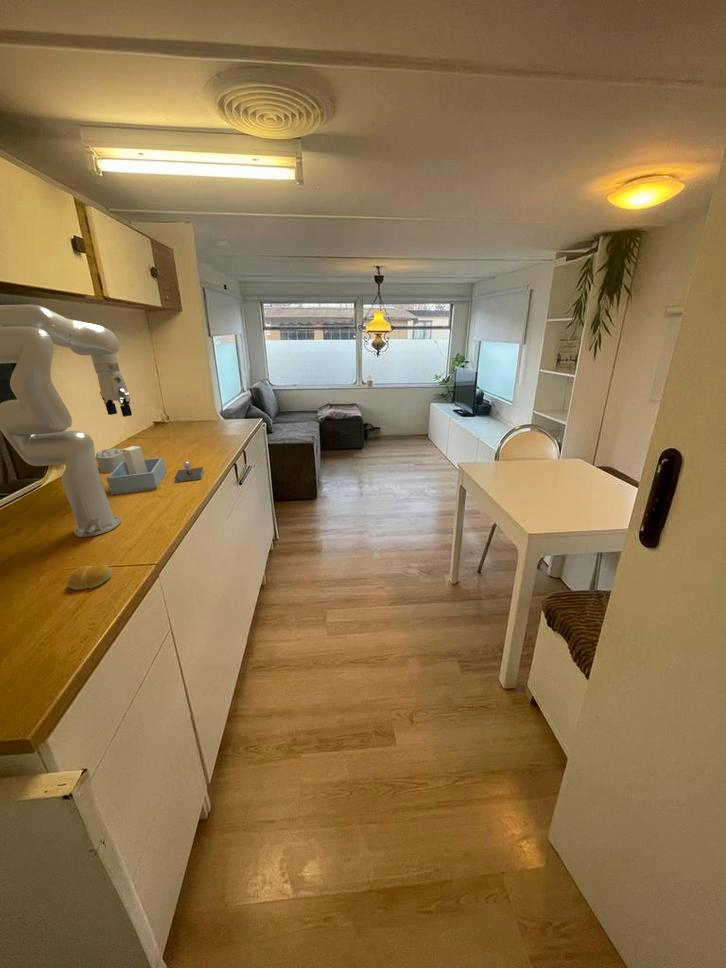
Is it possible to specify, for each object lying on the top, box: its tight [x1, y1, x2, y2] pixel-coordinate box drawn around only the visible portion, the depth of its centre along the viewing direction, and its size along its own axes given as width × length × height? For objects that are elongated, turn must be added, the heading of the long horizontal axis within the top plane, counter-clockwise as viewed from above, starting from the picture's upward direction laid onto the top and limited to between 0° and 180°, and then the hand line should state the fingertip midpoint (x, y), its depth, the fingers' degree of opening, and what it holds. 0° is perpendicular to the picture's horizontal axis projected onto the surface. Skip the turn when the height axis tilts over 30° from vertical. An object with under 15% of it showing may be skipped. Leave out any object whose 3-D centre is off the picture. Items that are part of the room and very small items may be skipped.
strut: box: [121, 445, 148, 475], centre depth 152 cm, size 5×5×14 cm
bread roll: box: [66, 563, 112, 590], centre depth 94 cm, size 8×9×4 cm
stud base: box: [174, 460, 205, 483], centre depth 158 cm, size 10×10×7 cm
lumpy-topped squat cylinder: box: [95, 447, 125, 474], centre depth 171 cm, size 10×13×9 cm
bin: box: [106, 457, 167, 496], centre depth 154 cm, size 20×16×7 cm
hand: (120, 415), depth 143 cm, fingers open, 9 cm apart
